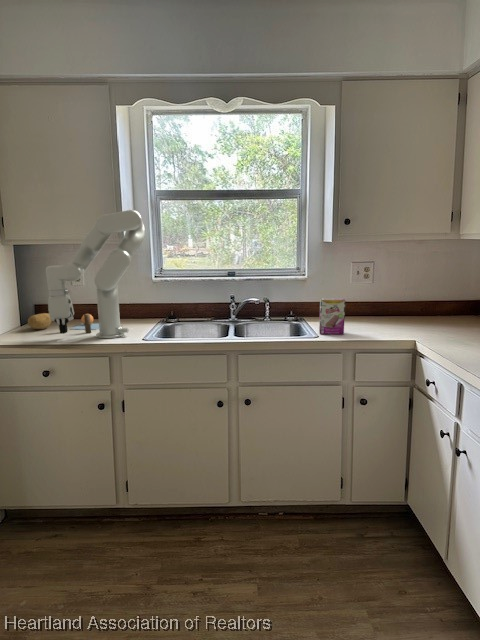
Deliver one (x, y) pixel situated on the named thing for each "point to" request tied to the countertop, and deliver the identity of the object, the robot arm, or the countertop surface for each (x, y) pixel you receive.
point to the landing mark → (82, 327)
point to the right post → (87, 323)
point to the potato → (39, 321)
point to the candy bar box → (332, 316)
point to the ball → (84, 320)
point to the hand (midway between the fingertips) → (64, 332)
